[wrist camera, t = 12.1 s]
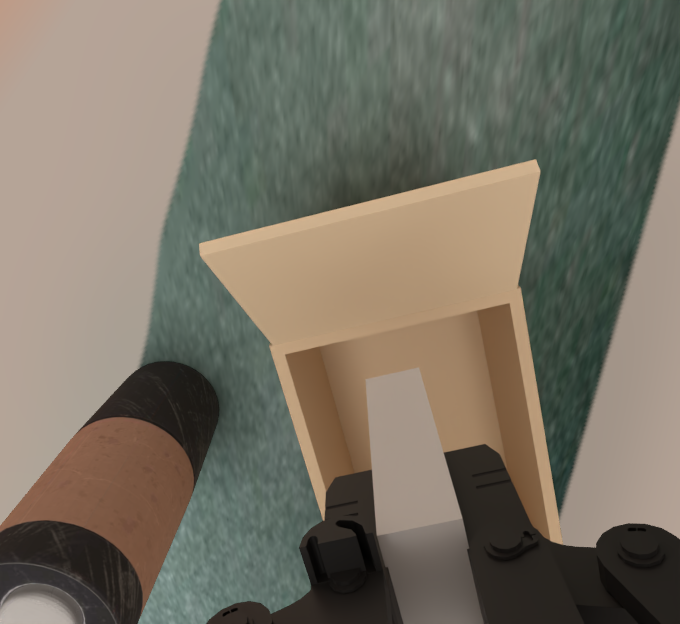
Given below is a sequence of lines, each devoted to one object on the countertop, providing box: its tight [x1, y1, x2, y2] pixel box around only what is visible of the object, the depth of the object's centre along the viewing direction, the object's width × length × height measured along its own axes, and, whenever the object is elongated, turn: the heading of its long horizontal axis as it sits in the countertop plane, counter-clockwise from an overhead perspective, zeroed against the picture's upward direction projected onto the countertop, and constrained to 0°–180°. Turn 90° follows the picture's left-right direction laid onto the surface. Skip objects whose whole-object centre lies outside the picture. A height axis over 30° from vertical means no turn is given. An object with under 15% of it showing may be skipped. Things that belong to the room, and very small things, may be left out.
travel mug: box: [0, 362, 219, 624], centre depth 34 cm, size 8×8×20 cm
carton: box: [269, 286, 563, 545], centre depth 37 cm, size 18×12×12 cm, turn 14°
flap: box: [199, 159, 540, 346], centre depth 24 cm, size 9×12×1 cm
